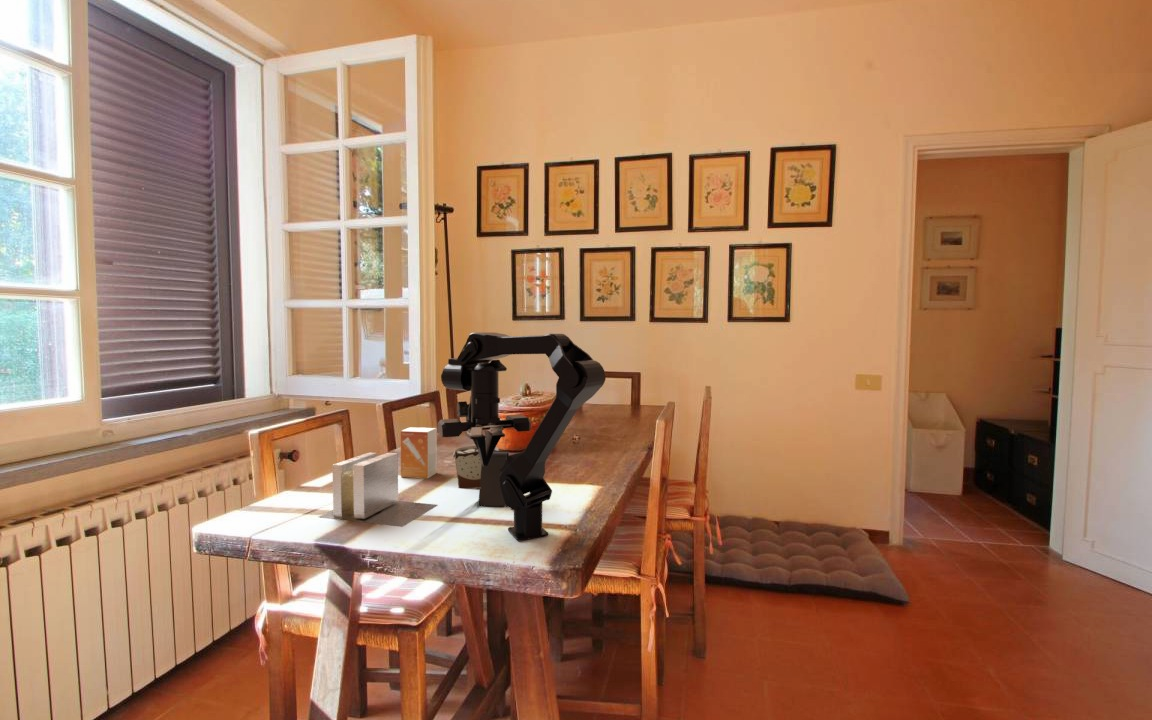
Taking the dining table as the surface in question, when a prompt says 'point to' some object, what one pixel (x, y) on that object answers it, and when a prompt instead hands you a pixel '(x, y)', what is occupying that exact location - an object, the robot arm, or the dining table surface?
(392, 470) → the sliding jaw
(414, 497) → the dining table surface
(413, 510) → the vise base
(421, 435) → the small box
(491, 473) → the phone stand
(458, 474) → the brown cake slice
